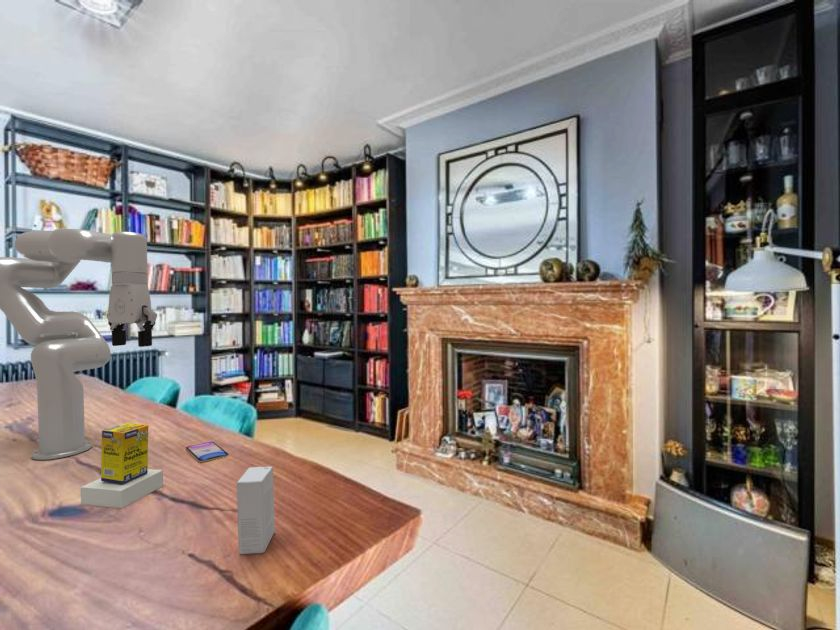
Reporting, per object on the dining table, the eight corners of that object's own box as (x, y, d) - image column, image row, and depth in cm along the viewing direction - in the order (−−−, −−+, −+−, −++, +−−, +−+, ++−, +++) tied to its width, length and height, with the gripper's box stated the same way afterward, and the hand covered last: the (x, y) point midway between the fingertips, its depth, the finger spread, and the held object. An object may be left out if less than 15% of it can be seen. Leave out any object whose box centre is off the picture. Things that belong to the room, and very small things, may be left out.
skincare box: (250, 533, 69) (249, 466, 69) (275, 532, 69) (273, 465, 69) (237, 555, 63) (235, 482, 63) (264, 553, 63) (263, 480, 63)
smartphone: (213, 443, 116) (213, 440, 116) (230, 457, 106) (230, 453, 106) (184, 450, 111) (184, 446, 111) (199, 465, 100) (199, 461, 100)
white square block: (81, 506, 80) (80, 487, 80) (126, 484, 90) (125, 467, 90) (121, 510, 78) (121, 490, 78) (163, 487, 88) (162, 470, 88)
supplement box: (122, 485, 81) (123, 432, 80) (100, 481, 82) (100, 429, 82) (149, 473, 86) (149, 424, 86) (127, 470, 88) (127, 421, 88)
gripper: (92, 280, 101) (94, 346, 102) (139, 278, 96) (141, 348, 96) (122, 282, 108) (124, 343, 109) (167, 280, 103) (169, 345, 103)
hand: (132, 345), depth 102 cm, fingers open, 9 cm apart
